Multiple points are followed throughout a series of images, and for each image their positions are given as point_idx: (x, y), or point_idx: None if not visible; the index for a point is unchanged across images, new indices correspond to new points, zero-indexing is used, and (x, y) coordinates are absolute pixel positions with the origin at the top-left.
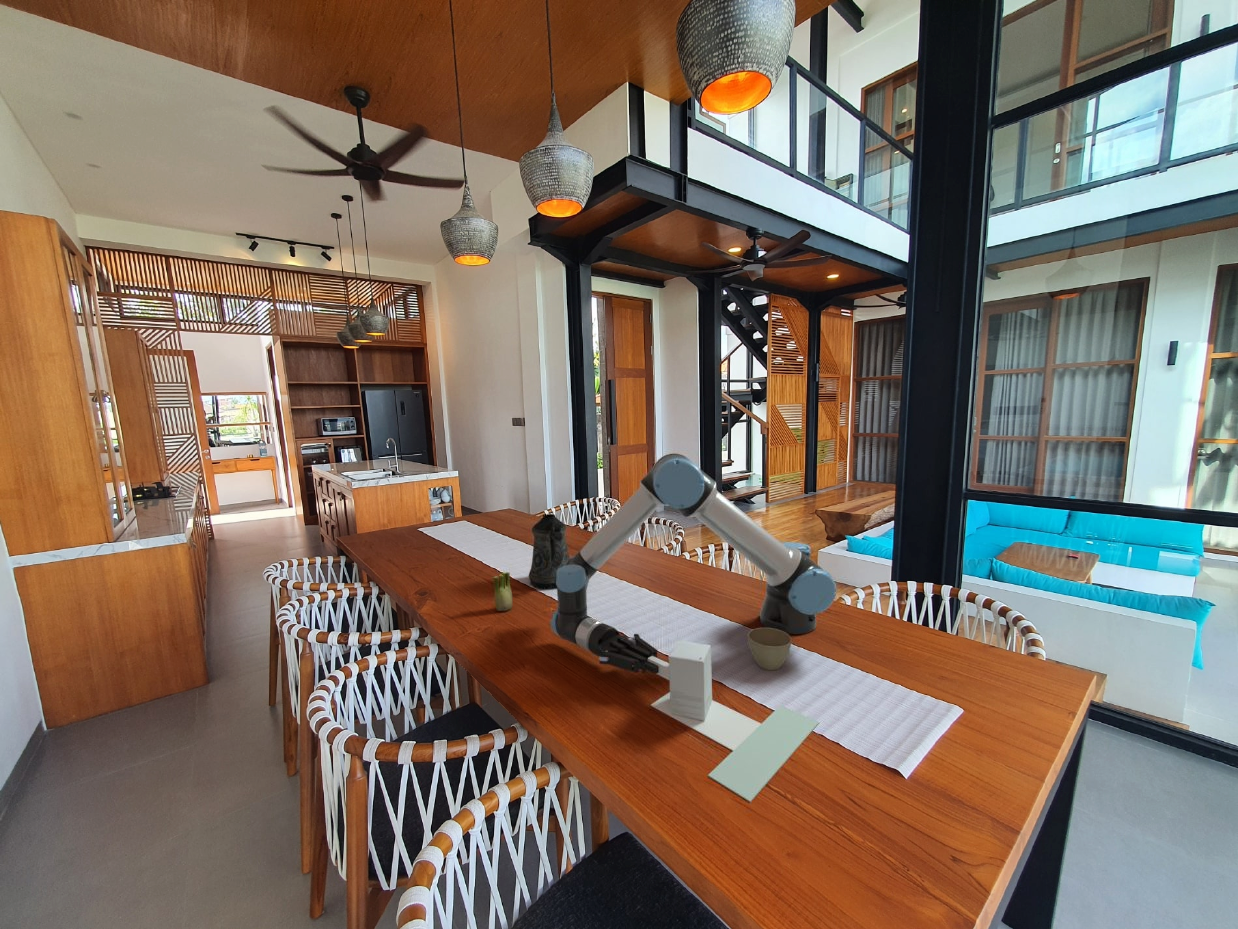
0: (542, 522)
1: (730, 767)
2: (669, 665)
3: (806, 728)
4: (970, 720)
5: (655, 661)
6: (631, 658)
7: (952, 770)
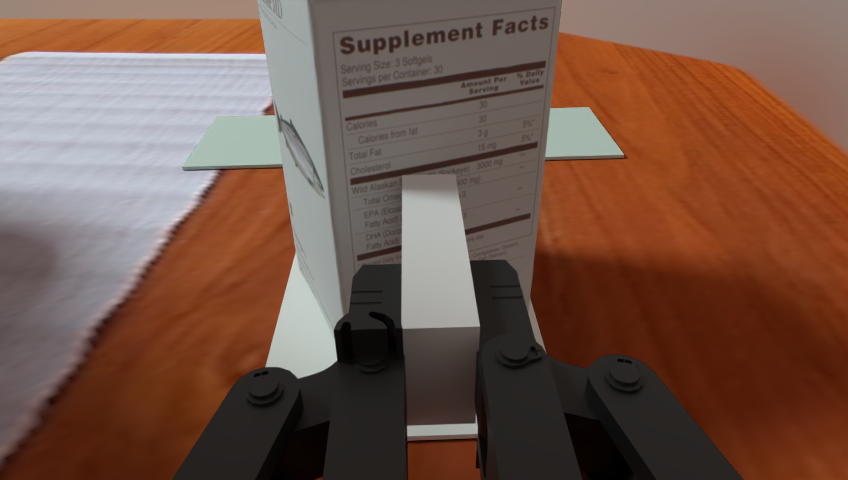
0: None
1: (550, 144)
2: (556, 43)
3: (264, 120)
4: (64, 46)
5: (464, 260)
6: (646, 448)
7: (242, 41)
